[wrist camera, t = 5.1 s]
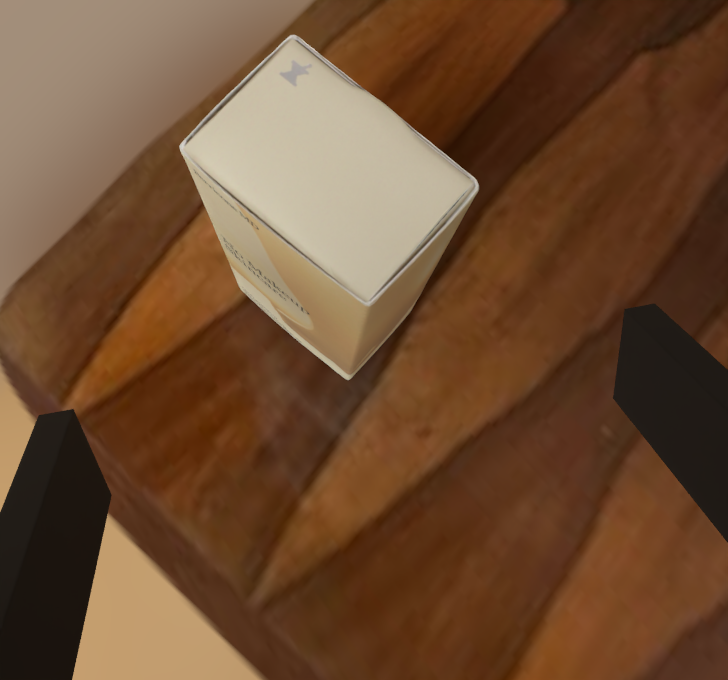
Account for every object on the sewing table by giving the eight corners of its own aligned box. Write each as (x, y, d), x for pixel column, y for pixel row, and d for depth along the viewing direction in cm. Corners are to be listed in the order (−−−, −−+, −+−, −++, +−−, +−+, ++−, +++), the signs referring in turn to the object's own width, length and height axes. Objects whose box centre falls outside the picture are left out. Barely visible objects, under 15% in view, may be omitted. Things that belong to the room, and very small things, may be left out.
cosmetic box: (235, 289, 27) (159, 138, 15) (305, 215, 28) (283, 18, 16) (353, 389, 27) (368, 313, 15) (421, 310, 28) (487, 179, 16)
